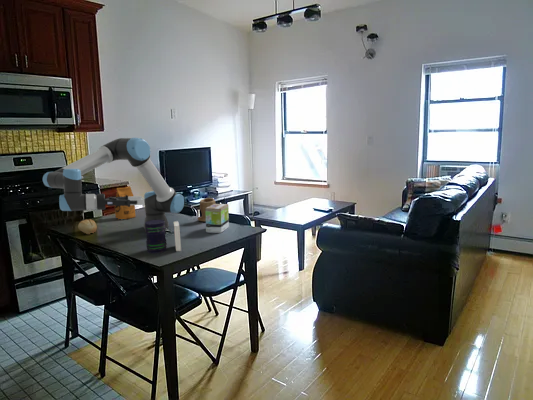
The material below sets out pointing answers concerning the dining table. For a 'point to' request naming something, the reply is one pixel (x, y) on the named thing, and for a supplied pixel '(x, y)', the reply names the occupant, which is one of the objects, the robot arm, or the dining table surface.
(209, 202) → the stone cup
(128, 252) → the dining table surface
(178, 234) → the tile
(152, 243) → the storage jar
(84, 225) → the bread roll
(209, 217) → the tea box
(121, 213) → the coffee package
